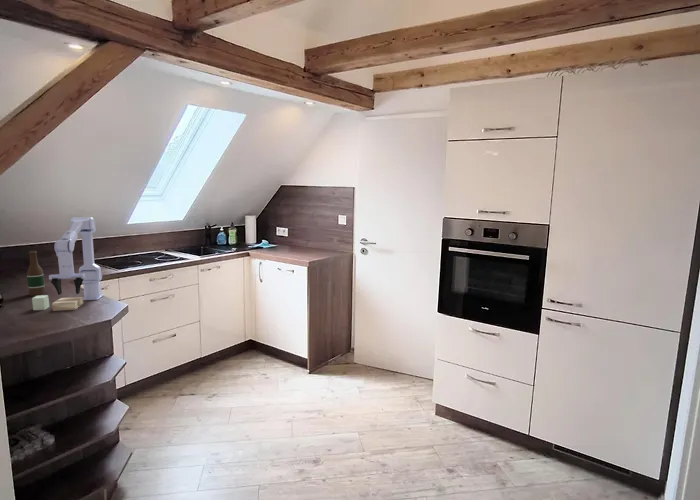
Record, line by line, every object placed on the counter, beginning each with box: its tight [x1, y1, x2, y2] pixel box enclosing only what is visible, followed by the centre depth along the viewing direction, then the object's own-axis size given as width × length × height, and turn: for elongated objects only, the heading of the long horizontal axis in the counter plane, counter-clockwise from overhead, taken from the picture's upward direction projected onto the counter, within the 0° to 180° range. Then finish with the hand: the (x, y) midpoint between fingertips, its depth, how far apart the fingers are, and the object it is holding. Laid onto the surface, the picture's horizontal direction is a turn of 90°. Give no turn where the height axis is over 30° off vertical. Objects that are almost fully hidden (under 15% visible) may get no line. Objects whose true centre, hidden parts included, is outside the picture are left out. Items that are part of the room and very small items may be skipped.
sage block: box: [31, 294, 50, 311], centre depth 214 cm, size 5×5×6 cm
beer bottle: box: [26, 250, 46, 297], centre depth 237 cm, size 8×8×24 cm
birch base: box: [51, 296, 84, 312], centre depth 217 cm, size 10×10×4 cm
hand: (68, 293), depth 204 cm, fingers open, 7 cm apart
